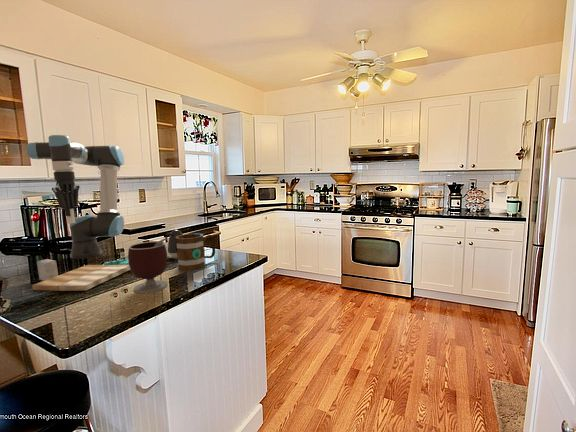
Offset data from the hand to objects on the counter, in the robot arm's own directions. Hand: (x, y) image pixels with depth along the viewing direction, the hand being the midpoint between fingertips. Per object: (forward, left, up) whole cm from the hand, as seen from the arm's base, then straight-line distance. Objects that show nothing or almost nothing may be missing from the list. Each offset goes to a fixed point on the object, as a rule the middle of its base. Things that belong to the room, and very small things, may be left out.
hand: (71, 222), depth 142 cm
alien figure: (-21, +14, -25) cm, 36 cm away
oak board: (+7, +5, -24) cm, 25 cm away
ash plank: (+7, +17, -24) cm, 30 cm away
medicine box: (+9, -6, -24) cm, 27 cm away
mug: (-15, +53, -24) cm, 60 cm away
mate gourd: (+15, +48, -24) cm, 55 cm away
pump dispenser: (-29, +35, -24) cm, 51 cm away
